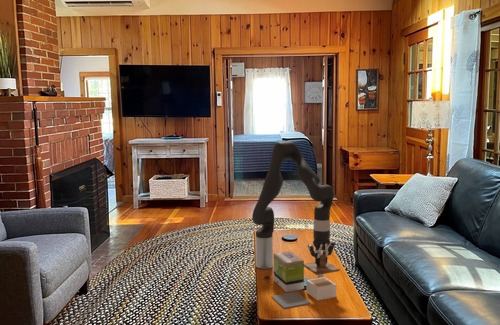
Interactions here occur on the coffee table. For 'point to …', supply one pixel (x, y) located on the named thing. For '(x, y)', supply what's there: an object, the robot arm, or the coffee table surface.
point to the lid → (321, 266)
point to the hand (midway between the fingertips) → (321, 264)
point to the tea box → (289, 271)
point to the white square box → (321, 288)
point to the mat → (290, 300)
